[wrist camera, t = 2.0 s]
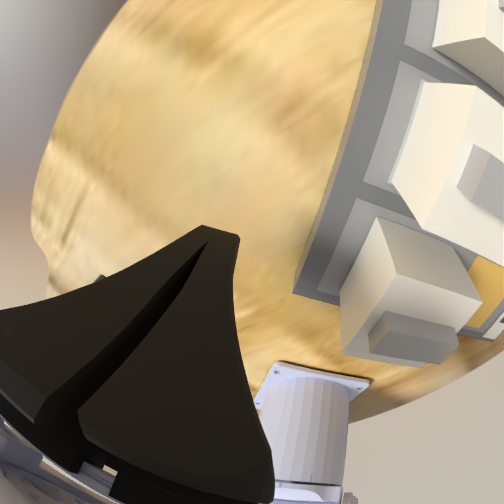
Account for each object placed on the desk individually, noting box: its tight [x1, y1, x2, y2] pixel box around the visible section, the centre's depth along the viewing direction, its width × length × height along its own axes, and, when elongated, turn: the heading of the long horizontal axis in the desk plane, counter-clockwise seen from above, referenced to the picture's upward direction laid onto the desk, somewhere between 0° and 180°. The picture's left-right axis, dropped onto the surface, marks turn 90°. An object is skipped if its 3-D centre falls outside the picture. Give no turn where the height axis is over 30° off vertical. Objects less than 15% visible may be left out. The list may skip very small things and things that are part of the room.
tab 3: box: [340, 216, 483, 368], centre depth 9 cm, size 4×4×4 cm
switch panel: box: [292, 0, 504, 342], centre depth 8 cm, size 17×15×2 cm
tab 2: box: [391, 82, 504, 267], centre depth 6 cm, size 4×4×4 cm
